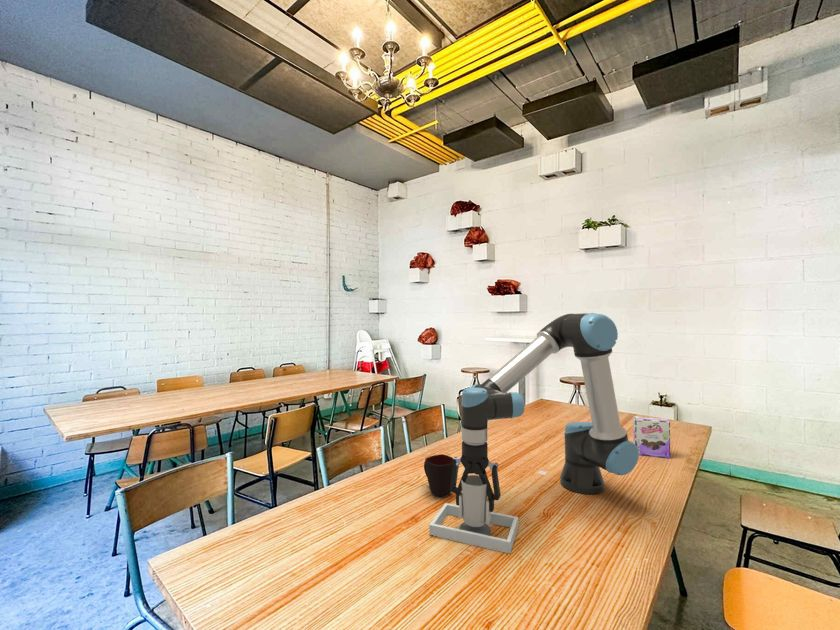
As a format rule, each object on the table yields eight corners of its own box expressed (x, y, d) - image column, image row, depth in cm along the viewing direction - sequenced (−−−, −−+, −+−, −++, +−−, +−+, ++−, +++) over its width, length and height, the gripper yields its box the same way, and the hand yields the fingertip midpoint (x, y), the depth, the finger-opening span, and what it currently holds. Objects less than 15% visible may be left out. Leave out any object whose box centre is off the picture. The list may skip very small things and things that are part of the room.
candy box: (635, 454, 174) (634, 418, 175) (633, 450, 180) (632, 415, 180) (670, 459, 169) (670, 421, 169) (667, 454, 175) (667, 418, 175)
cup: (488, 529, 109) (488, 487, 109) (460, 526, 111) (459, 484, 111) (488, 515, 117) (488, 475, 117) (462, 513, 118) (462, 473, 118)
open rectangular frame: (518, 527, 115) (518, 517, 115) (510, 553, 102) (510, 542, 102) (445, 512, 124) (445, 503, 124) (429, 535, 111) (429, 524, 111)
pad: (493, 525, 116) (493, 523, 116) (486, 541, 108) (486, 539, 108) (464, 519, 120) (464, 517, 120) (455, 534, 111) (455, 532, 111)
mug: (437, 502, 130) (437, 467, 131) (415, 487, 142) (415, 455, 142) (460, 495, 136) (460, 461, 136) (437, 481, 148) (436, 449, 148)
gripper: (511, 441, 113) (511, 519, 113) (446, 433, 121) (446, 506, 121) (507, 449, 106) (507, 533, 106) (437, 440, 114) (438, 518, 114)
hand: (474, 518), depth 114 cm, fingers closed on cup, 7 cm apart
